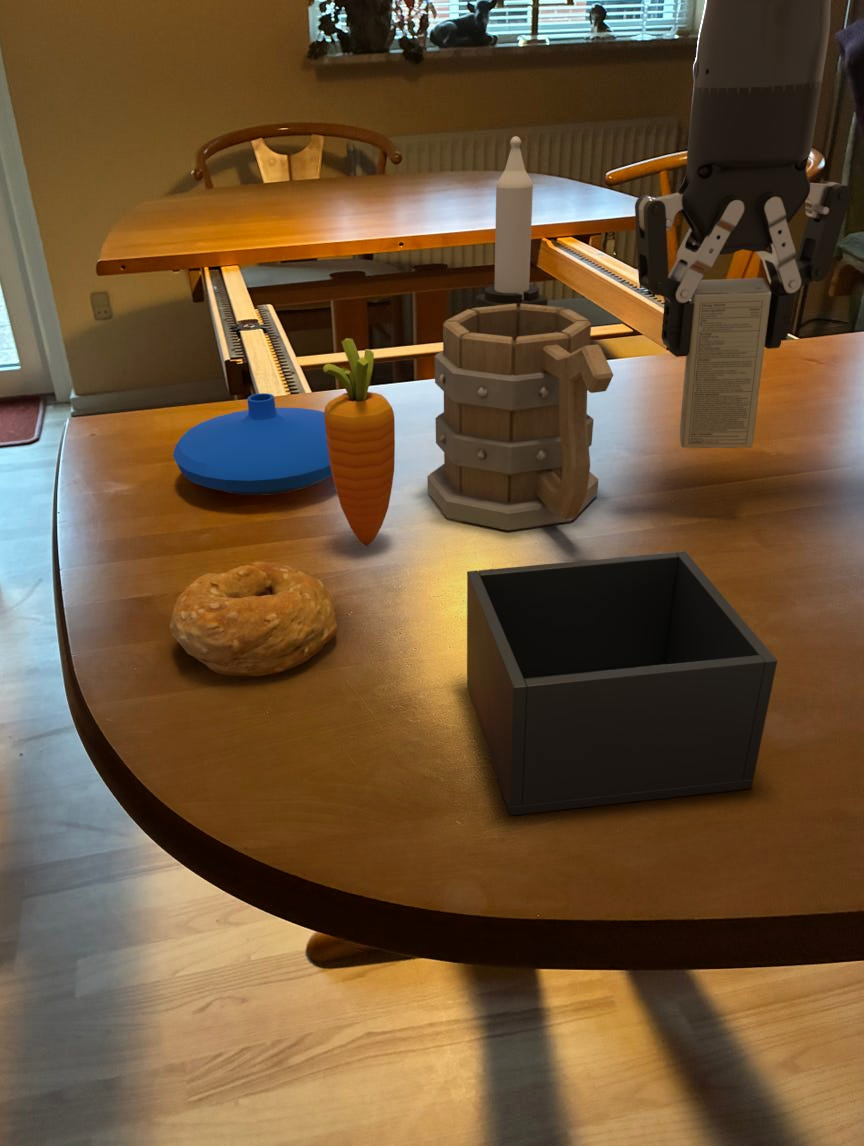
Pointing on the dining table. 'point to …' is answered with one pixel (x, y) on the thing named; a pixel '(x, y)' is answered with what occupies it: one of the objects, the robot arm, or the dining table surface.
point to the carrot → (360, 445)
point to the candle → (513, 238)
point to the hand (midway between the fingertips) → (723, 348)
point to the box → (724, 363)
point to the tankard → (516, 416)
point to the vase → (256, 449)
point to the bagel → (254, 619)
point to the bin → (613, 682)
